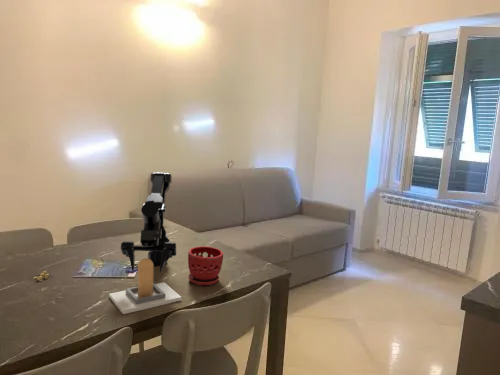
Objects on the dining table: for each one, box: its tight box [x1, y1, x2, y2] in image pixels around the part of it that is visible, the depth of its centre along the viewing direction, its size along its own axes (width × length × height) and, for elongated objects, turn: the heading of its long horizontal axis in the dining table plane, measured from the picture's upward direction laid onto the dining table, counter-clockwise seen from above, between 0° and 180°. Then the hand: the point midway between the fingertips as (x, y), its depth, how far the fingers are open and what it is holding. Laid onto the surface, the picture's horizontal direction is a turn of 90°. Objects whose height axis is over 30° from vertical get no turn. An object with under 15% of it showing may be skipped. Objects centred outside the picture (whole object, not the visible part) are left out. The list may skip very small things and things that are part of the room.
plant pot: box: [187, 246, 224, 287], centre depth 155 cm, size 13×13×12 cm
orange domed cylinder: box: [137, 257, 155, 298], centre depth 138 cm, size 5×5×13 cm
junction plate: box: [108, 282, 182, 315], centre depth 139 cm, size 20×14×3 cm
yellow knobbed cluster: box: [33, 270, 50, 282], centre depth 151 cm, size 5×5×2 cm
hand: (146, 271), depth 139 cm, fingers open, 9 cm apart
